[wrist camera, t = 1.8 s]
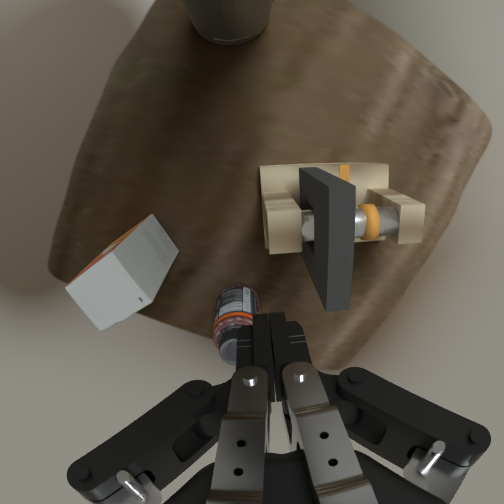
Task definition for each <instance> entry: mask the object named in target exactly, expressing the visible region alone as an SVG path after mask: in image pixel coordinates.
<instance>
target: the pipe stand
mask: <svg viewBox="0 0 504 504" xmlns="http://www.w3.org/2000/svg"><path fill="white" fill-rule="evenodd" d="M388 166H389V164H385V163H311V164H287V165H269V166H260V180H261V195H262V210H263V225H264V241H265V249H269V253H270V254H281V253H294V252H302V242H309V241H314V210H301V209H300V190H299V168H303V167H318V168H320V169H322V170H324V171H326V172H328V173H331V174H333V175H335V176H337V177H339V178H341V179H343V180H345V181H347V182H349V183H351V184H353V185H355V186H356V213H355V240H354V242H365V241H378V240H385V237H386V236H388V237H390V238H391V239H392V240H393V241H394V242H396V243H397V244H408V243H420V242H422V235H423V226H424V216H425V204H423V203H420V202H418V201H416V200H414V199H412V198H410V197H408V196H405V195H403V194H401V193H399V192H397V191H394V190H392V189H390V188H388Z"/></svg>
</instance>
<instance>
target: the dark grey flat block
mask: <svg viewBox="0 0 504 504" xmlns="http://www.w3.org/2000/svg"><path fill="white" fill-rule="evenodd" d="M299 190H300V209H301V210H314V241H309V242H302V252H301V255H302V257H303V260H304V262H305V264H306V266H307V269H308V271H309V273H310V276H311V278H312V280H313V283H314V285H315V287H316V290H317V292H318V294H319V297H320V299H321V301H322V304H323V306H324V308H325V311H326V312H329V311H338V310H346V309H349V306H350V296H351V285H352V273H353V258H354V240H355V213H356V186H355V185H353V184H351V183H349V182H347V181H345V180H343V179H341V178H339V177H337V176H335V175H333V174H331V173H328V172H326V171H324V170H322V169H320V168H318V167H303V168H299Z"/></svg>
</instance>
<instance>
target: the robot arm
mask: <svg viewBox="0 0 504 504" xmlns="http://www.w3.org/2000/svg"><path fill="white" fill-rule="evenodd" d="M181 1H182V3H183V5H184V7H185V9H186V11H187V13H188V15H189V17H190V19H191V21H192V23H193V25H194V27H195V29H196V30H197V32H198V33H199V34H200V35H201V36H202V37H203V38H205V39H206V40H208V41H210V42H212V43H215V44H220V45H238V44H242V43H245V42H248V41H250V40H252V39H254V38H255V37H257V36H258V35H259V34H260V33H261V32H262V31H263V30H264V28H265V27H266V25H267V22H268V19H269V14H270V10H271V6H272V1H273V0H181ZM252 320H253V325H242V326H241V327H240V329H239V330H238V332H237V352H236V371H235V373H234V374H233V376H232V378H231V379H230V380H228V381H227V382H225V383H222V384H219V385H215V386H212V385H211V384H210V383H208V382H206V381H203V380H193V381H190V382H187V383H185V384H184V385H182V386H181V387H180V388H179V389H177V390H176V391H175V392H173V393H172V394H171V395H169V396H168V397H167V398H165V399H164V400H163V401H161V402H160V403H159V404H157V405H156V406H155V407H153V408H152V409H150V410H149V411H148V412H146V413H145V414H144V415H142V416H141V417H139V418H138V419H137V420H135V421H134V422H133V423H131V424H130V425H128V426H127V427H126V428H124V429H123V430H121V431H120V432H118V433H117V434H115V435H114V436H112V437H111V438H110V439H108V440H107V441H106V442H104V443H102V444H101V445H99V446H98V447H96V448H95V449H93V450H92V451H91V452H89V453H87V454H86V455H84V456H83V457H81V458H80V459H78V460H76V461H75V462H74V463H72V464H71V465H70V467H69V468H68V471H67V480H68V482H69V484H70V485H71V486H72V487H73V488H74V489H75V490H76V491H78V492H79V493H80V494H81V495H82V496H83V497H84V498H85V499H86V500H88V501H89V502H90V503H91V504H160V503H161V492H160V491H161V490H162V489H163V488H164V487H166V486H167V485H168V484H169V483H171V482H172V481H173V480H174V479H176V478H177V477H178V476H179V475H180V474H181V473H182V472H184V471H185V470H186V469H187V468H189V467H190V466H191V465H192V464H193V463H194V462H195V461H197V460H198V459H199V458H200V457H201V456H202V455H203V454H204V453H205V452H207V451H208V450H209V449H210V448H211V447H212V446H213V445H214V444H215V443H216V442H218V447H217V453H216V459H215V462H213V463H211V464H209V465H207V466H205V467H204V468H202V469H201V470H200V471H199V472H197V473H196V474H195V475H194V476H193V477H192V478H191V479H190V480H189V481H188V482H187V483H186V484H184V485H183V487H181V488H180V489H179V490H178V491H177V492H176V493H175V494H173V495H172V496H171V497H170V498H169V499H168V500H167V501H166V502H164V503H163V504H450V502H451V500H452V499H453V497H454V495H455V494H456V491H457V490H458V489H459V487H460V485H461V483H462V481H463V480H464V478H465V476H466V474H467V472H468V470H469V469H470V468H471V467H472V465H473V464H474V463H475V462H476V461H477V460H478V459H479V458H480V457H481V456H482V454H483V453H484V452H485V451H486V450H487V448H488V447H489V445H490V442H491V436H490V433H489V431H488V430H487V429H486V428H485V427H484V426H482V425H480V424H478V423H476V422H473V421H471V420H469V419H467V418H464V417H462V416H460V415H458V414H456V413H453V412H451V411H449V410H447V409H444V408H442V407H440V406H438V405H436V404H434V403H432V402H430V401H428V400H426V399H424V398H421V397H419V396H417V395H415V394H413V393H411V392H409V391H407V390H405V389H403V388H401V387H399V386H397V385H395V384H393V383H391V382H389V381H387V380H385V379H383V378H381V377H379V376H377V375H375V374H373V373H371V372H369V371H368V370H366V369H363V368H360V367H350V368H347V369H345V370H343V371H342V372H341V373H340V374H339V375H329V374H325V373H322V372H320V371H318V370H317V369H316V368H315V367H314V366H313V365H312V362H311V358H310V354H309V351H308V347H307V343H306V339H305V336H304V332H303V328H302V326H301V325H300V324H299V323H297V322H296V321H291V322H286V318H285V313H284V312H275V313H269V322H268V313H263V314H252ZM269 328H270V330H269ZM274 382H275V391H274ZM275 392H276V401H277V402H278V401H282V407H283V419H284V424H285V428H286V433H287V438H288V442H289V446H290V452H289V453H287V454H275V453H269V450H270V414H271V402H275ZM349 438H351V439H352V440H354V441H356V442H357V443H359V444H361V445H362V446H364V447H366V448H367V449H369V450H370V451H372V452H374V453H376V454H377V455H379V456H381V457H382V458H384V459H386V460H388V461H389V462H391V463H393V464H395V465H397V466H398V467H400V468H402V469H404V470H403V474H404V478H403V477H401V476H399V475H398V474H396V473H395V472H393V471H391V470H390V469H388V468H387V467H385V466H383V465H382V464H380V463H379V462H377V461H375V460H374V459H372V458H371V457H369V456H367V455H366V454H364V453H362V452H359V451H356V450H354V449H353V447H352V444H351V442H350V439H349Z"/></svg>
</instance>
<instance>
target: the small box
mask: <svg viewBox="0 0 504 504" xmlns="http://www.w3.org/2000/svg"><path fill="white" fill-rule="evenodd" d="M178 253H179V250H178V249H177V247H176V246H175V245H174V243H173V242H172V240H171V239H170V238H169V236H168V235H167V233H166V232H165V230H164V229H163V228H162V226H161V225H160V223H159V222H158V221H157V219H156V218H155V216H154V215H153V214H150V215H149V216H148V217H146V218H145V219H144V220H143V221H141V222H140V223H139V224H137V225H136V226H134V227H133V228H132V229H130V230H129V231H128V232H126V233H125V234H124V235H122V236H121V237H120V238H118V239H117V240H115V241H114V242H113V243H111V244H110V245H109V246H108V247H107V248H106V249H105V250H104V251H103V252H101V253H100V254H99V255H98V256H97V257H96V258H95V259H94V260H93V261H92V262H91V263H90V264H89V265H88V266H87V267H85V268H84V269H83V270H82V271H81V272H80V273H79V274H78V275H77V276H76V277H75V278H74V279H73V280H72V281H71V282H70V283H69V284H68V285H67V286H66V287H65V289H66V290H67V292H68V293H69V294H70V295H71V297H72V298H73V299H74V300H75V302H76V303H77V304H78V305H79V307H80V308H81V309H82V311H83V312H84V313H85V314H86V315H87V317H88V318H89V319H90V320H91V321H92V322H93V323H94V325H95V326H96V327H97V328H98V330H99V331H104V330H106V329H107V328H109V327H111V326H113V325H115V324H117V323H118V322H120V321H122V320H124V319H126V318H128V317H129V316H131V315H132V314H134V313H135V312H137V311H139V310H140V309H142V308H144V307H145V306H147V305H149V304H151V303H152V302H153V300H154V298H155V296H156V294H157V292H158V290H159V288H160V286H161V284H162V283H163V281H164V279H165V277H166V275H167V273H168V271H169V269H170V267H171V265H172V263H173V262H174V260H175V258H176V256H177V254H178Z"/></svg>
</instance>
